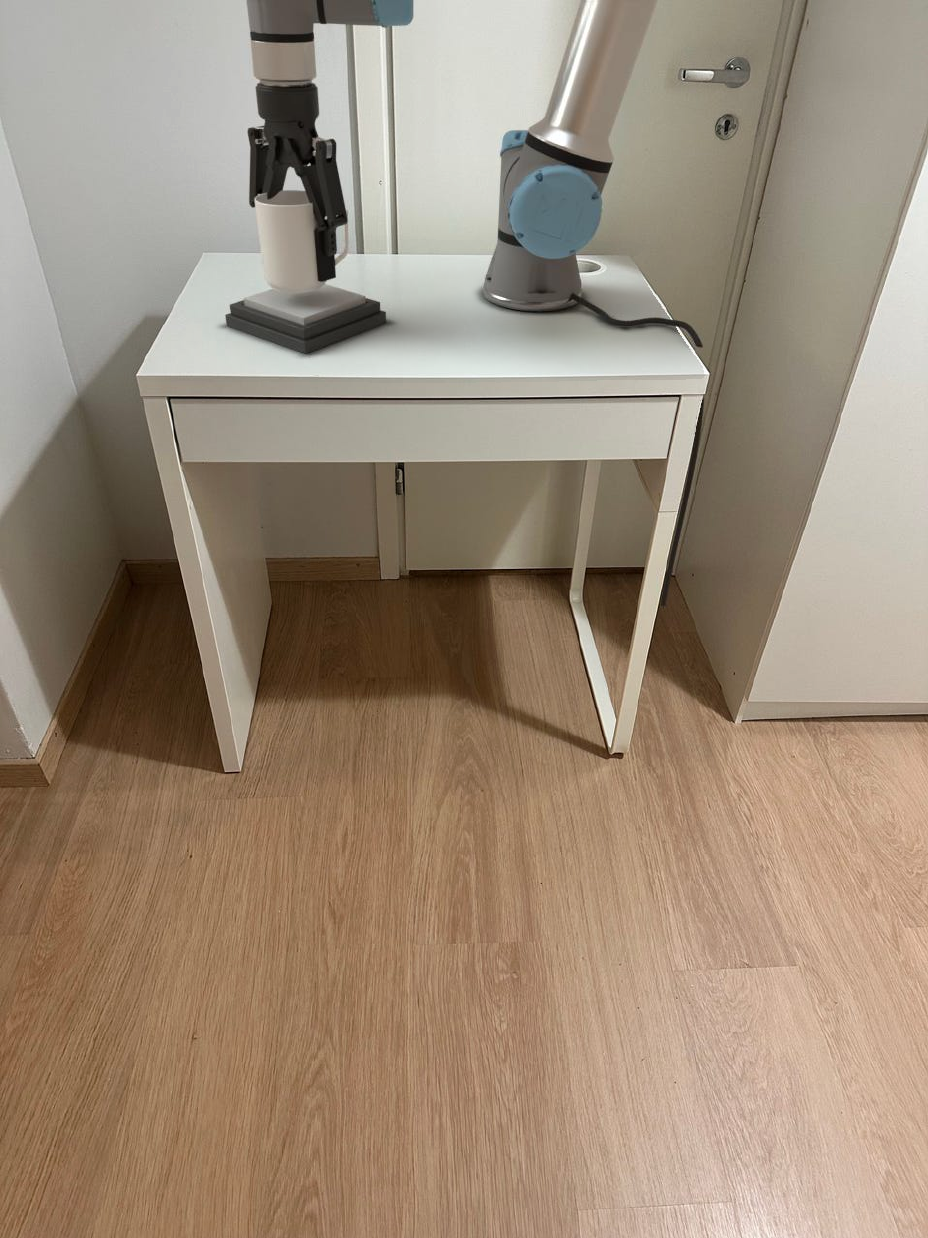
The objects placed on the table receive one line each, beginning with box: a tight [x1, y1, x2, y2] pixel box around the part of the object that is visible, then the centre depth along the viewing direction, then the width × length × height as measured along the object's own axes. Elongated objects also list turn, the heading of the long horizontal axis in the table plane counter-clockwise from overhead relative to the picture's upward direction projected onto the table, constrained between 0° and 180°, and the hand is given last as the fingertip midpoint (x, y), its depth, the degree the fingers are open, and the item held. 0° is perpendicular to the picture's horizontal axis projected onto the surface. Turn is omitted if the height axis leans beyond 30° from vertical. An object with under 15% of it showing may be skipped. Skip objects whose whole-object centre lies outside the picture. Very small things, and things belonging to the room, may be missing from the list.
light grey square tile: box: [243, 283, 367, 326], centre depth 124 cm, size 12×12×1 cm
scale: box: [224, 297, 387, 355], centre depth 125 cm, size 16×16×3 cm
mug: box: [254, 189, 349, 293], centre depth 118 cm, size 12×9×11 cm
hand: (302, 271), depth 121 cm, fingers closed on mug, 9 cm apart
